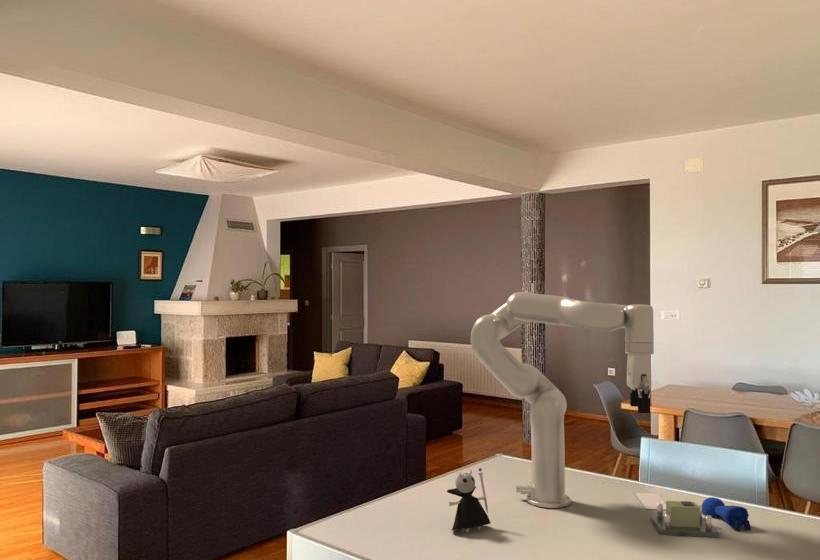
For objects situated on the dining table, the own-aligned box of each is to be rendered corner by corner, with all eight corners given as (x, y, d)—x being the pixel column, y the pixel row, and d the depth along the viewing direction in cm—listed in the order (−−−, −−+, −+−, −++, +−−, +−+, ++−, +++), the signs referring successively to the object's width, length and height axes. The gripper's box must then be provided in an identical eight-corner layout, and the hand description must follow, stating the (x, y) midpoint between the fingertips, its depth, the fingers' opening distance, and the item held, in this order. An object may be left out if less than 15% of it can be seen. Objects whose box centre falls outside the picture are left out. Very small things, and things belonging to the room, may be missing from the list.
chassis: (660, 534, 159) (660, 515, 159) (650, 520, 169) (650, 502, 169) (719, 537, 157) (718, 518, 157) (705, 522, 167) (705, 504, 167)
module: (671, 526, 161) (670, 505, 162) (666, 519, 166) (666, 499, 166) (699, 527, 160) (699, 506, 161) (694, 521, 165) (694, 500, 165)
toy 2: (755, 532, 162) (717, 510, 177) (755, 508, 162) (717, 488, 177) (731, 534, 161) (695, 512, 176) (731, 510, 161) (695, 489, 176)
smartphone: (645, 509, 177) (633, 492, 192) (645, 511, 177) (633, 494, 192) (671, 510, 176) (657, 493, 191) (671, 512, 176) (657, 494, 191)
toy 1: (460, 535, 156) (450, 472, 161) (447, 535, 162) (438, 474, 166) (499, 527, 162) (489, 466, 166) (485, 526, 167) (475, 468, 172)
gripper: (619, 345, 186) (620, 403, 186) (632, 351, 169) (632, 415, 168) (646, 345, 185) (646, 404, 185) (661, 351, 168) (662, 415, 167)
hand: (640, 409), depth 177 cm, fingers open, 9 cm apart
